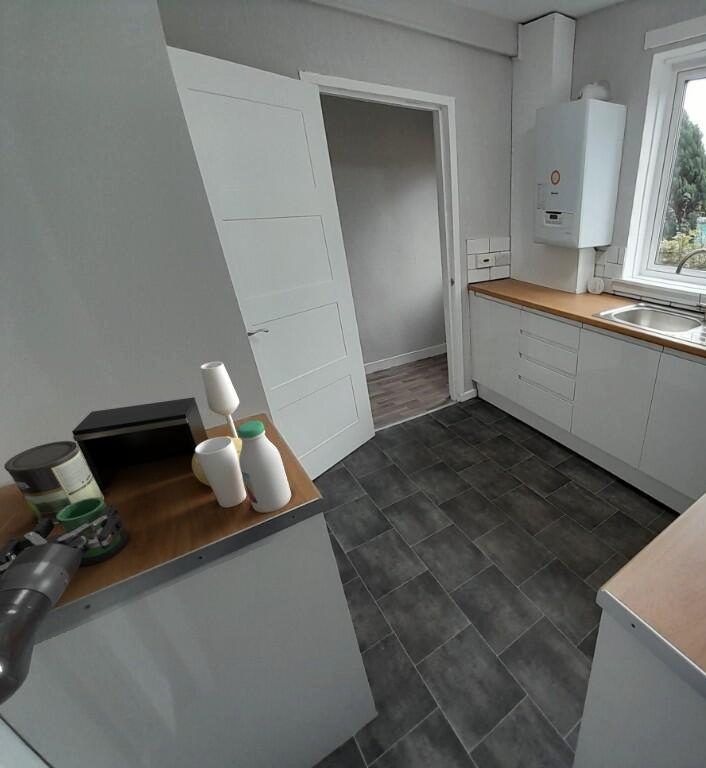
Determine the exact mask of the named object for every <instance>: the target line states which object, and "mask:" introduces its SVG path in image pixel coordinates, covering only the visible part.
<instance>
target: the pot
mask: <svg viewBox="0 0 706 768" xmlns="http://www.w3.org/2000/svg"><path fill="white" fill-rule="evenodd" d="M106 506H107V504H106V502H105V499H104V500H103V499H102V498H99V497H97V498H88V499H83V500H80V501H77V502H75V503H72V504H70V505H68V506H66V507H65V508H64V509H62V510H61V511H60V512H59V513H58V514H57V516H56V517H57V520H58V522H59V524H58V525H59V526H60V528H61V529H62V531H63V534H64V533H67V532H71V531H74V530H76V529H77V528H79V527H80V526H82V525H84V524H86V523H89V524H90V523H92V522H93V521H95V520H97V519H98V518H99V516H100V515H101V513H102V511H103V510H104V508H105V507H106ZM100 528H102V526H101V524H100V525H98V526H97V527H96V530H99V529H100ZM82 534H83V535H84V536H85V537H86V538H87V539H88V534H87V532H86V531H85V532H83V533H82ZM120 540H121V535H120V533H119V535H118V537H117V538H116V540H115V541H114V543H113V544H112V546H111V547H110V548H108V549H102V547H101V546H98V547H94V548H90V550H88V551H87V552H86V553H85V554H84V555H83V556H82V558H91V557H95V556H98V555H101V554H103V553H105V552H107V551H109V550H111V549H112V548H114V547H115V546H116V545H117V544H118V543H119V542H120Z"/></svg>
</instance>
